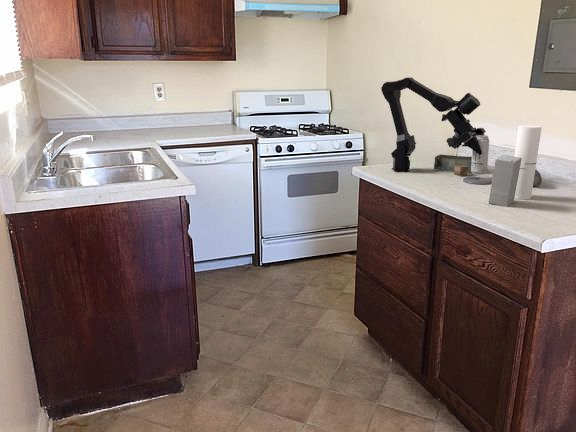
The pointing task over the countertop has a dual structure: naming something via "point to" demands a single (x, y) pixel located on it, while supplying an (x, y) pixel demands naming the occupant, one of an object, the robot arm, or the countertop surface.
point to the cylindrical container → (527, 159)
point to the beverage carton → (451, 162)
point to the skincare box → (504, 180)
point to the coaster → (477, 180)
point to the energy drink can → (480, 156)
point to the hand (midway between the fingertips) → (483, 153)
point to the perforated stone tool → (537, 178)
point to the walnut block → (461, 170)
